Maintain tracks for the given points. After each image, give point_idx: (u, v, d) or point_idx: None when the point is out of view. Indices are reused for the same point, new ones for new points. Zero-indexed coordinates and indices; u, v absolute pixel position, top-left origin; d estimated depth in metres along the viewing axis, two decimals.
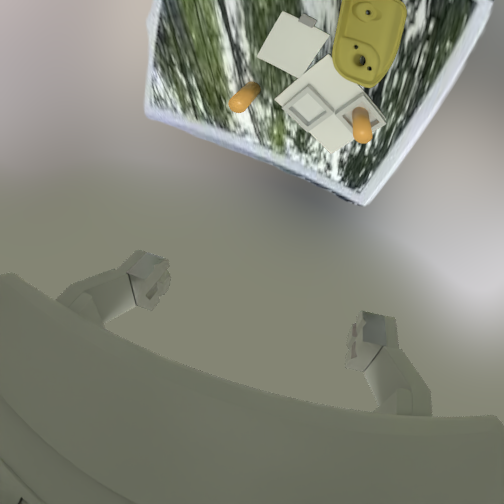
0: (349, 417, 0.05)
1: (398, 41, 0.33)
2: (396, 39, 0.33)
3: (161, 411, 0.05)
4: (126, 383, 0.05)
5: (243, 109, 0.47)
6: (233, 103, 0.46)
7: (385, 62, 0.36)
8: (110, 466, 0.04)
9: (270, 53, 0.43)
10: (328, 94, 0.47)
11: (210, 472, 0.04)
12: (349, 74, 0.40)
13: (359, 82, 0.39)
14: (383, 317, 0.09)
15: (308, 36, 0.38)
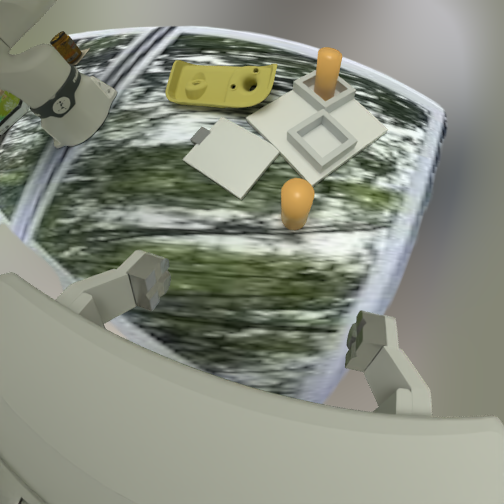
0: (349, 417, 0.05)
1: (230, 67, 0.44)
2: None
3: (161, 412, 0.05)
4: (126, 383, 0.05)
5: (308, 185, 0.29)
6: (294, 199, 0.29)
7: None
8: (110, 466, 0.04)
9: (238, 179, 0.40)
10: (301, 121, 0.40)
11: (210, 471, 0.04)
12: (266, 89, 0.38)
13: (272, 74, 0.36)
14: (383, 317, 0.09)
15: (221, 135, 0.41)
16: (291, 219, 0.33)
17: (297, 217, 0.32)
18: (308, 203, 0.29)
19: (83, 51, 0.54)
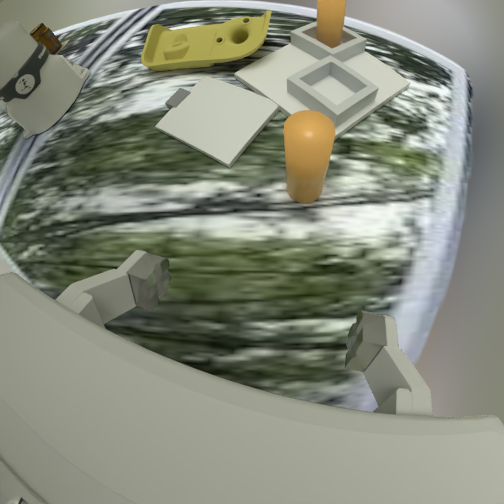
0: (348, 417, 0.05)
1: None
2: None
3: (161, 412, 0.05)
4: (126, 383, 0.05)
5: (324, 118, 0.17)
6: (306, 137, 0.17)
7: None
8: (110, 465, 0.04)
9: (225, 141, 0.28)
10: None
11: (210, 472, 0.04)
12: None
13: (266, 20, 0.25)
14: (383, 317, 0.09)
15: (203, 95, 0.30)
16: (301, 178, 0.21)
17: (311, 173, 0.20)
18: (328, 142, 0.17)
19: (63, 43, 0.45)
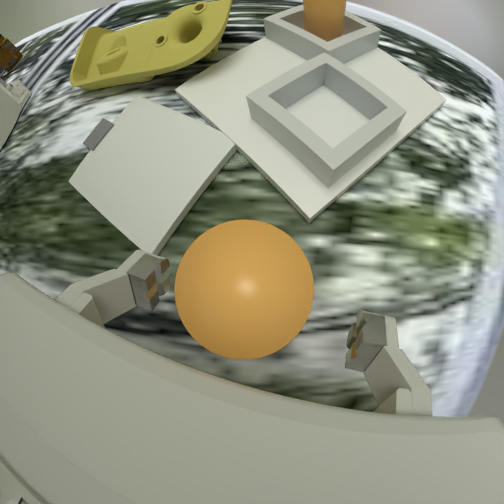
0: (349, 417, 0.05)
1: None
2: None
3: (161, 412, 0.05)
4: (126, 383, 0.05)
5: (286, 250, 0.07)
6: (227, 318, 0.07)
7: None
8: (110, 465, 0.04)
9: (147, 213, 0.18)
10: None
11: (210, 472, 0.04)
12: None
13: (226, 2, 0.15)
14: (383, 317, 0.09)
15: (128, 128, 0.20)
16: None
17: None
18: (287, 334, 0.07)
19: (24, 54, 0.35)
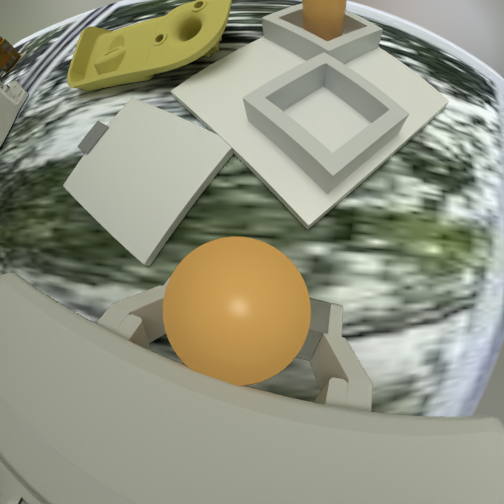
0: (349, 417, 0.05)
1: None
2: None
3: (161, 412, 0.05)
4: (126, 383, 0.05)
5: (281, 271, 0.06)
6: (218, 343, 0.06)
7: None
8: (110, 465, 0.04)
9: (141, 220, 0.17)
10: None
11: (209, 471, 0.04)
12: None
13: None
14: (328, 304, 0.10)
15: (123, 131, 0.19)
16: None
17: None
18: (281, 361, 0.06)
19: (22, 54, 0.34)
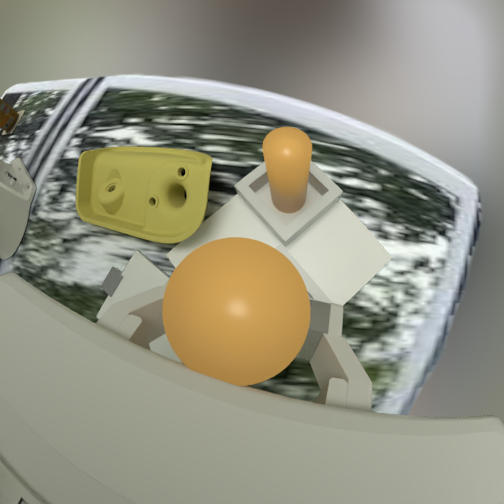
0: (349, 417, 0.05)
1: (159, 149, 0.32)
2: (157, 151, 0.32)
3: (161, 411, 0.05)
4: (126, 383, 0.05)
5: (281, 271, 0.06)
6: (218, 343, 0.06)
7: (185, 157, 0.29)
8: (110, 465, 0.04)
9: None
10: None
11: (210, 472, 0.04)
12: None
13: (204, 183, 0.24)
14: (328, 304, 0.10)
15: (135, 285, 0.29)
16: None
17: None
18: (281, 361, 0.06)
19: (20, 113, 0.44)
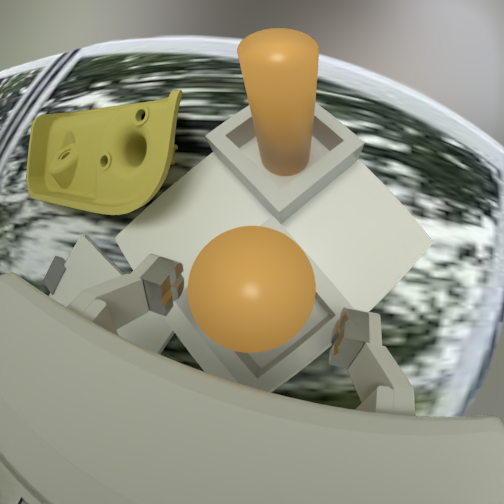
0: (349, 417, 0.05)
1: (125, 106, 0.23)
2: None
3: (161, 412, 0.05)
4: (126, 383, 0.05)
5: (291, 253, 0.08)
6: (237, 315, 0.07)
7: None
8: (110, 465, 0.04)
9: None
10: None
11: (210, 471, 0.04)
12: None
13: (167, 121, 0.15)
14: (367, 313, 0.09)
15: (78, 280, 0.20)
16: None
17: None
18: (292, 329, 0.07)
19: None
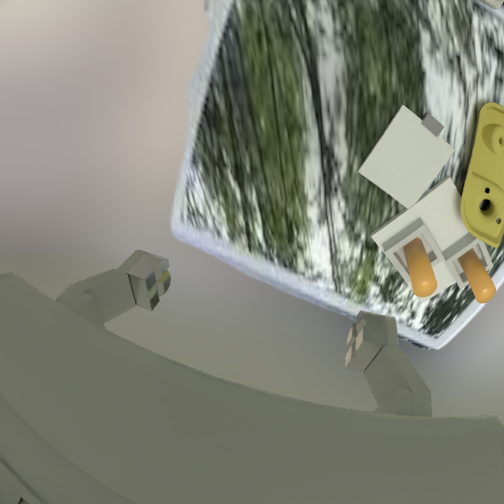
0: (349, 417, 0.05)
1: None
2: None
3: (161, 412, 0.05)
4: (126, 383, 0.05)
5: (429, 293, 0.31)
6: (420, 284, 0.30)
7: None
8: (110, 466, 0.04)
9: (378, 168, 0.34)
10: (438, 232, 0.35)
11: (209, 471, 0.04)
12: (475, 227, 0.30)
13: (487, 240, 0.28)
14: (383, 317, 0.09)
15: (430, 149, 0.30)
16: (409, 262, 0.34)
17: (409, 271, 0.34)
18: (415, 293, 0.31)
19: None
